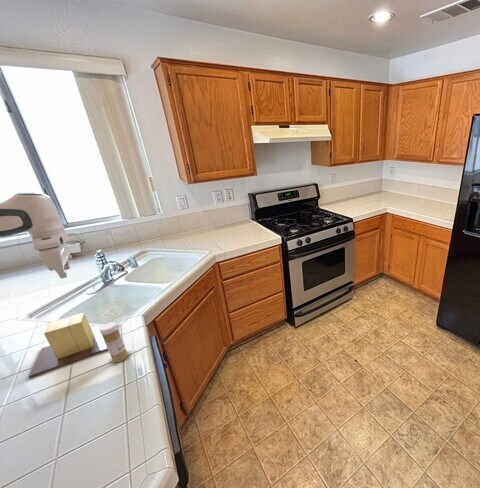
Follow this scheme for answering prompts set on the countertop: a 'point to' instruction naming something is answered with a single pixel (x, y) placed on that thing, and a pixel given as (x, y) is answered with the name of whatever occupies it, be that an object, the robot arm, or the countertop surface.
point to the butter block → (61, 338)
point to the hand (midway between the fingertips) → (65, 273)
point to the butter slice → (81, 331)
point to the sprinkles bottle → (113, 341)
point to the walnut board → (50, 362)
